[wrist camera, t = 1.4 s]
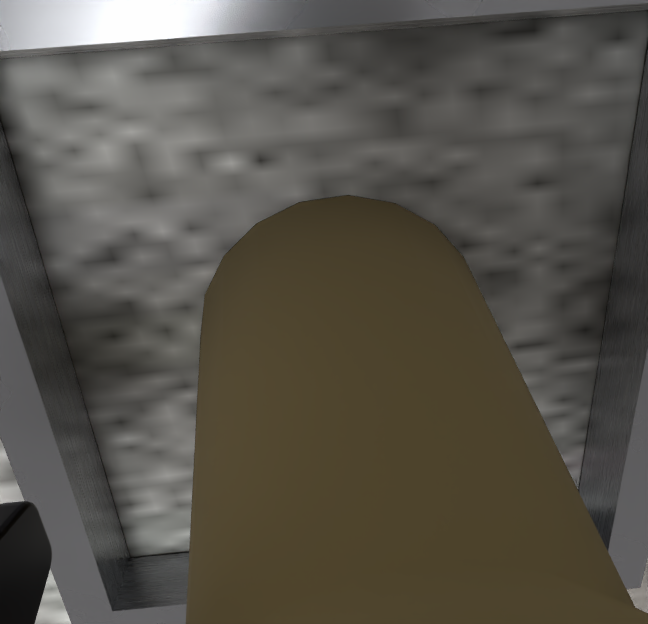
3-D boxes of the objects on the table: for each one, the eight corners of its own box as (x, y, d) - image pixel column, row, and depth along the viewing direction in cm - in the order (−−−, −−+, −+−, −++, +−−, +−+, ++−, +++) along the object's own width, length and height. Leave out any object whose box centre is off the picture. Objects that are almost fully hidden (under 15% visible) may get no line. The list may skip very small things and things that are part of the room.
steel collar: (607, 539, 14) (640, 587, 13) (100, 589, 14) (79, 644, 13) (722, -63, 9) (800, -89, 8) (-101, -4, 9) (-175, -20, 7)
